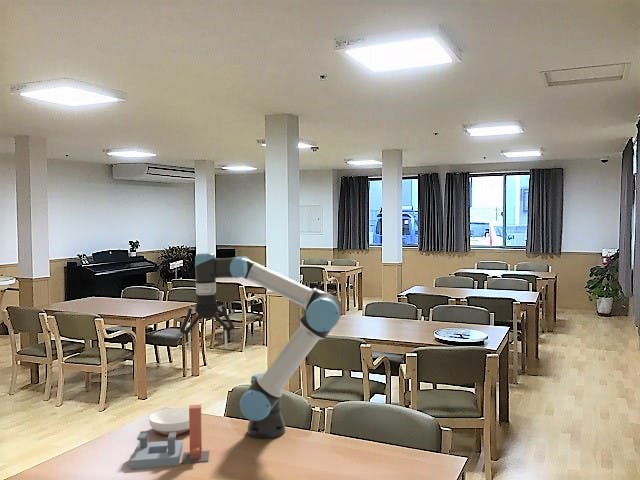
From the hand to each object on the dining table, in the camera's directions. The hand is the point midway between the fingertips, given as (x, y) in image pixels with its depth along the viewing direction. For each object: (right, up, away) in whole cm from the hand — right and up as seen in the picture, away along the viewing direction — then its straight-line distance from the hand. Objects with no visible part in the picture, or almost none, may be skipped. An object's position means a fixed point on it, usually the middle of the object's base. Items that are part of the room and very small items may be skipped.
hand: (208, 349), depth 217 cm
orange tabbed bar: (-2, -36, -13) cm, 38 cm away
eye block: (-15, -36, -13) cm, 42 cm away
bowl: (-17, -36, +15) cm, 42 cm away
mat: (-2, -36, -13) cm, 39 cm away
